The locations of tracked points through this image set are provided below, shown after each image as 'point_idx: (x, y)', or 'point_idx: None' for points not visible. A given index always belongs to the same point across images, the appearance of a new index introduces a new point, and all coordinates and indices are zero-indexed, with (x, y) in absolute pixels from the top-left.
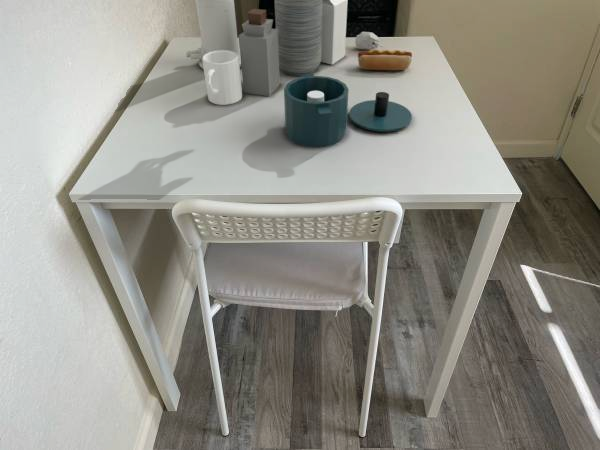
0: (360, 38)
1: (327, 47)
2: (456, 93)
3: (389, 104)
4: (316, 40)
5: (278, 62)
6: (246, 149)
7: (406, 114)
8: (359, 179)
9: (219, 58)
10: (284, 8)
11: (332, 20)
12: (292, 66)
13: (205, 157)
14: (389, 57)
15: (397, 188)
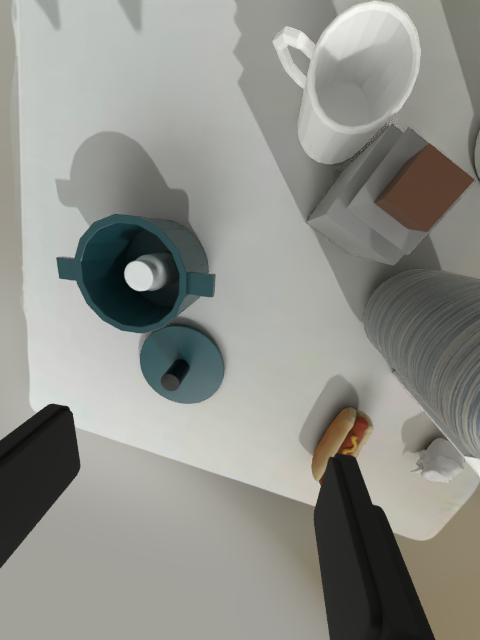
0: (447, 455)
1: None
2: (226, 474)
3: (204, 389)
4: (388, 360)
5: (361, 256)
6: (130, 142)
7: (173, 395)
8: (50, 283)
9: (401, 80)
10: (473, 313)
11: (444, 426)
12: (376, 291)
13: (115, 58)
14: (327, 454)
15: (34, 316)
